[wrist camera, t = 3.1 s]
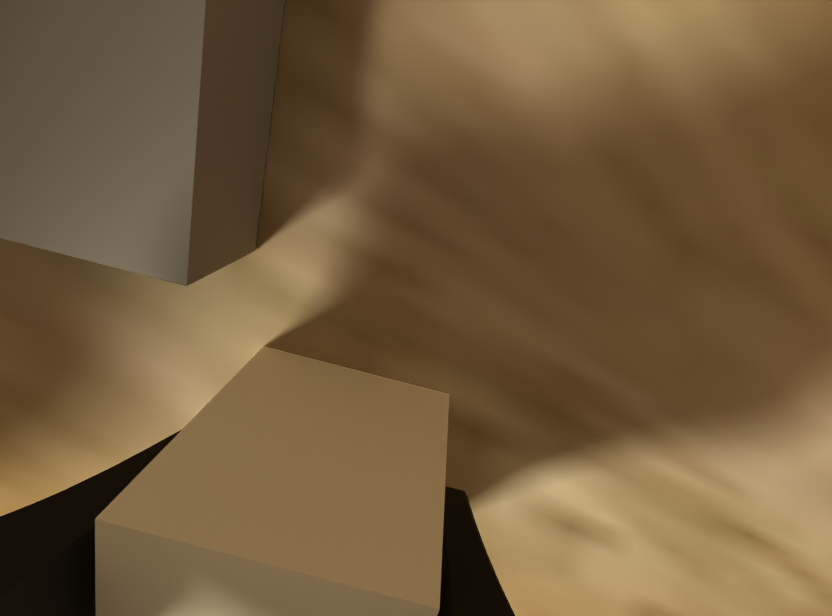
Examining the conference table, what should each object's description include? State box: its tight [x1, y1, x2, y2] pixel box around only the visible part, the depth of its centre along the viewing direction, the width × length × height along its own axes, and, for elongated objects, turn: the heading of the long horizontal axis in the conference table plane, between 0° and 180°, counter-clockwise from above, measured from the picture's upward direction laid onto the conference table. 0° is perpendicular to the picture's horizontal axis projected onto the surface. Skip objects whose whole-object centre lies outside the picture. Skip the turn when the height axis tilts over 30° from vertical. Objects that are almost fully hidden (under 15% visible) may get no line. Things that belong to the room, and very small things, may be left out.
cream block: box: [95, 346, 449, 616], centre depth 10 cm, size 5×5×6 cm
